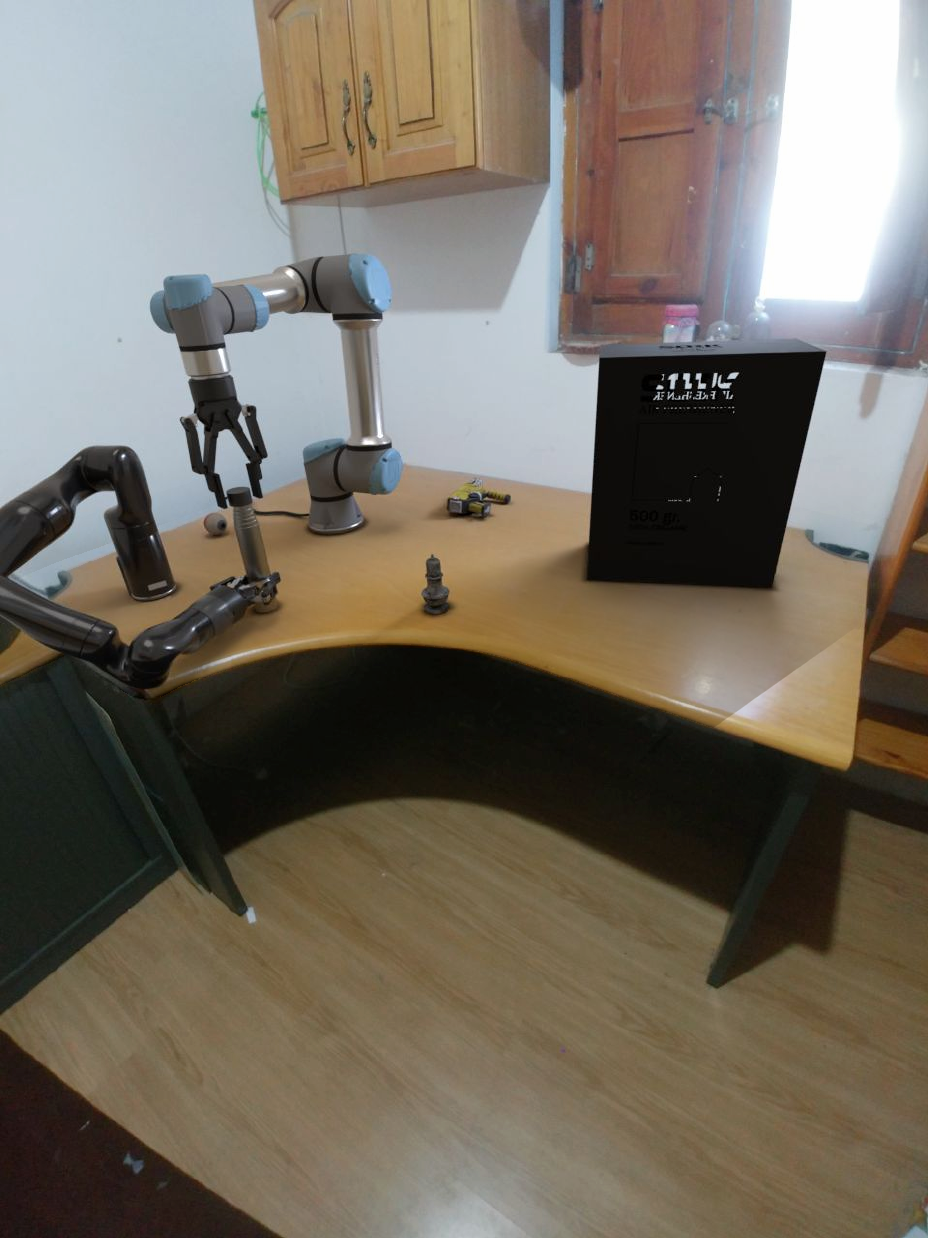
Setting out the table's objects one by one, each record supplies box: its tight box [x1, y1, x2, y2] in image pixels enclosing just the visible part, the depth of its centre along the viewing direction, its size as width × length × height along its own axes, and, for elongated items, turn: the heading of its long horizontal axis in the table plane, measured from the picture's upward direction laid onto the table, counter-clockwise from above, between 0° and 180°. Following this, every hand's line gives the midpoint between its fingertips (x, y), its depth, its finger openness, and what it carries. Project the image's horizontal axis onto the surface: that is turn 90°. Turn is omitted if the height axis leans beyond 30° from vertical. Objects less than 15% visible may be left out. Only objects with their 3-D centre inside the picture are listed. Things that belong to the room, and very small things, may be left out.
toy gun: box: [446, 477, 512, 518], centre depth 177 cm, size 5×24×15 cm
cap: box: [225, 486, 254, 508], centre depth 117 cm, size 4×4×3 cm
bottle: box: [232, 504, 279, 614], centre depth 122 cm, size 5×5×25 cm
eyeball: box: [203, 512, 228, 536], centre depth 166 cm, size 6×6×6 cm
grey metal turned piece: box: [420, 553, 451, 614], centre depth 122 cm, size 6×6×12 cm
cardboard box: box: [586, 338, 828, 589], centre depth 126 cm, size 38×20×45 cm, turn 78°
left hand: (267, 574), depth 128 cm, fingers closed on bottle, 4 cm apart
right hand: (240, 501), depth 117 cm, fingers open, 7 cm apart
